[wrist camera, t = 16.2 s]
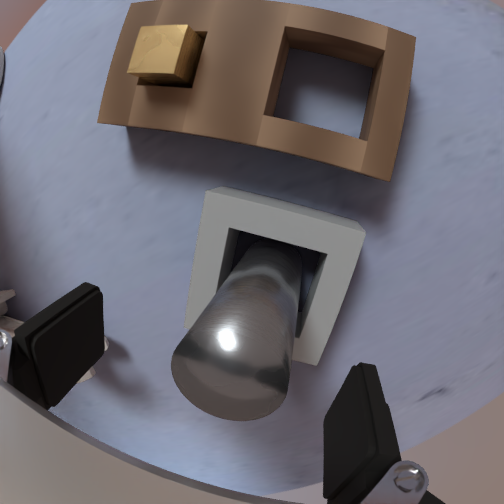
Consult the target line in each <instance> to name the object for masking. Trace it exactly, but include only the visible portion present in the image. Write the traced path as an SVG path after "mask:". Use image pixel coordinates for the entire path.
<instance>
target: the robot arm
mask: <svg viewBox="0 0 504 504" xmlns="http://www.w3.org/2000/svg"><path fill="white" fill-rule="evenodd" d="M3 70H4V54H3V50H2V47H1V46H0V86H1V82H2V76H3ZM14 334H15V336H14V337H11V335H10V334H9V333H8V332H7V331H5V330H2V329H0V504H301V503H295V502H288V501H282V500H276V499H270V498H265V497H259V496H254V495H250V494H245V493H241V492H236V491H232V490H228V489H224V488H220V487H217V486H213V485H210V484H206V483H203V482H200V481H196V480H193V479H190V478H187V477H184V476H181V475H178V474H175V473H172V472H170V471H167V470H164V469H162V468H159V467H156V466H154V465H151V464H149V463H146V462H144V461H142V460H139V459H137V458H135V457H132V456H130V455H128V454H126V453H123V452H121V451H119V450H117V449H115V448H113V447H111V446H109V445H107V444H105V443H103V442H101V441H99V440H97V439H95V438H93V437H91V436H89V435H88V434H86V433H84V432H82V431H80V430H79V429H77V428H75V427H73V426H72V425H70V424H68V423H66V422H65V421H63V420H62V419H60V418H58V417H57V416H55V415H54V414H52V413H50V412H49V411H48V410H49V409H50V407H51V406H52V407H54V406H56V405H57V404H58V403H59V402H60V401H61V400H62V399H63V397H64V396H65V395H66V394H67V393H68V392H69V391H70V390H71V389H72V388H73V386H74V385H75V384H76V383H77V382H78V381H79V380H80V379H81V378H82V377H83V376H84V375H85V373H86V372H87V371H88V370H89V369H90V368H91V367H92V366H93V365H94V364H95V363H96V362H97V361H98V360H99V359H100V357H101V356H102V355H103V353H104V351H105V340H104V321H103V294H102V292H100V289H99V287H98V286H95V285H92V284H90V283H87V282H85V283H83V284H81V285H80V286H78V287H77V288H75V289H73V290H72V291H70V292H69V293H67V294H66V295H64V296H63V297H61V298H60V299H58V300H57V301H55V302H54V303H52V304H51V305H49V306H48V307H46V308H45V309H44V310H42V311H41V312H39V313H38V314H36V315H35V316H33V317H32V318H30V319H29V320H28V321H26V322H25V323H23V324H22V325H21V326H19V327H18V328H16V329H15V330H14ZM35 402H36V403H35ZM428 483H429V479H428V476H427V473H426V472H425V470H424V469H423V468H422V467H421V466H420V465H419V464H416V463H415V462H412V461H401V456H400V451H399V446H398V442H397V438H396V433H395V429H394V425H393V421H392V417H391V413H390V409H389V406H388V404H387V403H386V402H385V398H384V394H383V391H382V387H381V383H380V379H379V376H378V372H377V369H376V366H375V365H372V364H366V363H361V362H360V363H359V364H358V365H357V366H355V365H354V366H352V368H351V370H350V372H349V374H348V375H347V377H346V379H345V381H344V383H343V385H342V387H341V389H340V391H339V392H338V394H337V396H336V398H335V400H334V401H333V403H332V405H331V407H330V408H329V410H328V412H327V414H326V416H325V418H324V477H323V497H324V498H325V499H328V500H327V501H328V502H327V504H445V503H444V502H442V501H441V500H440V499H438V498H437V497H435V496H434V495H433V494H431V493H430V492H429V491H427V487H428V485H429V484H428Z"/></svg>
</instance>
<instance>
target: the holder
mask: <svg viewBox="0 0 504 504" xmlns="http://www.w3.org/2000/svg"><path fill="white" fill-rule="evenodd" d="M240 230H241V231H245V232H249V233H252V234H256V235H260V236H264V237H267V238H271V239H275V240H279V241H282V242H286V243H290V244H293V245H297V246H301V247H304V248H308V249H312V250H315V251H319V252H321V254H320V257H319V260H318V264H317V267H316V270H315V273H314V277H313V280H312V283H311V286H310V289H309V292H308V295H307V298H306V302H305V305H304V308H303V311H302V313H301V312H298V313H297V322H296V330H295V339H294V347H293V354H292V360H295V361H299V362H303V363H307V364H311V365H315V366H317V364H318V362H319V360H320V357H321V355H322V353H323V350H324V348H325V345H326V343H327V341H328V338H329V336H330V333H331V331H332V328H333V326H334V323H335V321H336V318H337V316H338V313H339V310H340V308H341V305H342V302H343V300H344V297H345V294H346V292H347V289H348V286H349V283H350V280H351V278H352V275H353V272H354V269H355V266H356V263H357V260H358V257H359V254H360V251H361V248H362V245H363V241H364V238H365V235H366V232H365V231H364V229H363V228H362V227H361V226H360V224H359V223H358V222H357V221H355V220H351V219H348V218H345V217H341V216H338V215H334V214H331V213H327V212H323V211H320V210H316V209H313V208H309V207H305V206H302V205H298V204H294V203H290V202H286V201H282V200H279V199H275V198H271V197H267V196H263V195H259V194H255V193H250V192H246V191H242V190H238V189H234V188H229V187H225V186H222V187H218V188H214V189H210V190H206V193H205V198H204V203H203V209H202V214H201V220H200V225H199V231H198V237H197V242H196V248H195V254H194V261H193V267H192V273H191V280H190V286H189V293H188V300H187V307H186V314H185V322H184V328H187V329H190V328H191V327H192V326H193V324H194V323H195V321H196V320H197V319H198V317H199V316H200V315H201V313H202V312H203V311H204V309H205V308H206V306H207V305H208V304H209V302H210V301H211V300H212V298H213V297H214V295H215V294H216V293H217V291H218V290H219V289H220V287H221V286H222V285H223V283H224V282H225V280H226V279H227V278H228V276H229V275H230V273H231V268H232V263H233V259H234V254H235V249H236V244H237V240H238V235H239V231H240Z"/></svg>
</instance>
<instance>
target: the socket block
mask: <svg viewBox="0 0 504 504" xmlns="http://www.w3.org/2000/svg"><path fill="white" fill-rule="evenodd" d="M158 25H189V26H190V27H191V28H192V29H193V30H194V31H195V32H196V33H197V34H198V35H199V36H200V37H201V38H202V39H203V40H204V41H205V43H204V46H203V50H202V53H201V57H200V60H199V64H198V68H197V71H196V75H195V79H194V83H193V87H192V89H190V88H178V87H164V86H158V85H155V84H153V83H151V82H148V81H146V80H144V79H141V78H139V77H136V76H134V75H131V74H129V73H127V71H128V67H129V64H130V60H131V57H132V53H133V50H134V47H135V44H136V40H137V37H138V34H139V31H140V28H141V27H143V26H158ZM415 42H416V37H414V36H412V35H409V34H406V33H404V32H401V31H398V30H395V29H393V28H390V27H387V26H384V25H381V24H378V23H374V22H371V21H368V20H364V19H361V18H357V17H354V16H350V15H346V14H342V13H338V12H333V11H329V10H324V9H319V8H314V7H309V6H303V5H297V4H290V3H283V2H275V1H266V0H154V1H145V2H137V3H131V6H130V8H129V11H128V13H127V16H126V19H125V22H124V24H123V27H122V30H121V33H120V36H119V39H118V42H117V45H116V49H115V52H114V55H113V59H112V62H111V66H110V69H109V73H108V77H107V81H106V85H105V89H104V93H103V97H102V102H101V106H100V111H99V116H98V121H97V123H103V124H111V125H119V126H127V127H136V128H145V129H154V130H162V131H169V132H176V133H183V134H190V135H196V136H202V137H208V138H214V139H219V140H225V141H230V142H235V143H240V144H245V145H250V146H255V147H259V148H264V149H269V150H273V151H277V152H282V153H286V154H290V155H294V156H298V157H302V158H306V159H310V160H314V161H317V162H321V163H325V164H328V165H332V166H335V167H339V168H342V169H346V170H349V171H353V172H356V173H359V174H362V175H366V176H369V177H372V178H375V179H379V180H384V181H388V182H390V180H391V176H392V172H393V168H394V163H395V159H396V155H397V151H398V146H399V142H400V137H401V132H402V127H403V122H404V117H405V112H406V106H407V100H408V94H409V88H410V82H411V75H412V68H413V60H414V51H415ZM289 48H295V49H300V50H305V51H310V52H315V53H319V54H324V55H328V56H332V57H336V58H340V59H344V60H347V61H351V62H354V63H358V64H361V65H365V66H368V67H371V68H373V73H372V78H371V84H370V89H369V94H368V99H367V104H366V109H365V114H364V119H363V123H362V128H361V132H360V137H359V139H358V138H354V137H351V136H348V135H344V134H341V133H337V132H334V131H330V130H326V129H323V128H319V127H315V126H311V125H307V124H303V123H298V122H294V121H290V120H285V119H281V118H276V117H273V115H274V111H275V107H276V102H277V98H278V94H279V90H280V85H281V81H282V77H283V73H284V69H285V64H286V60H287V56H288V52H289Z"/></svg>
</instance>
